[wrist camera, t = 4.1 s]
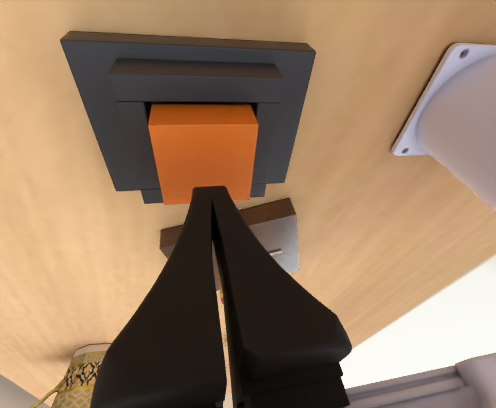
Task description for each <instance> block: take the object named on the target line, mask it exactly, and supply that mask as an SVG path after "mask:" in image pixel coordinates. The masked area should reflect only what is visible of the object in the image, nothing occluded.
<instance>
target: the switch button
mask: <svg viewBox="0 0 496 408" xmlns="http://www.w3.org/2000/svg"><path fill="white" fill-rule="evenodd" d="M148 128H149V133H150V138H151V143H152V148H153V153H154V158H155V163H156V167H157V172H158V177H159V182H160V187H161V192H162V197H163V202H164V205H169V204H185V203H191V198H192V189H193V188H195V187H204V186H223V185H224V186H226V187H227V190H228V192H229V194H230V196H231V198H232V200H248V199H249V197H250V189H251V181H252V173H253V165H254V157H255V149H256V141H257V133H258V122H257V120H256V117H255V115H254V112H253V110H252V107H251V105H206V104H152V106H151V112H150V118H149V123H148Z"/></svg>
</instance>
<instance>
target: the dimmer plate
mask: <svg viewBox="0 0 496 408" xmlns="http://www.w3.org/2000/svg"><path fill="white" fill-rule="evenodd" d="M239 213H240V214H241V216H242V218H243V219H244V221H245V222H246V224H247V225H248V227H249V228H250V230H251V231H252V232H253V234H254V235H255V236H256V238H257V239H258V240H259V242H260V243H261V244H262V245H263V247H264V248H265V249H266V250H267V251H268V253H269V254H270V255H271V256H272V257H273V258H274V259H275V260H276V262H277V263H278V264H279V265H280V266H281V267H282V268H283V269H284V270H285V271H286V272H287V273H289V272H293V271H297V270H299V256H298V238H297V220H296V212H295V210H294V208H293V205H292V203H291V200H290V198H288V199H284V200H280V201H276V202H272V203H268V204H265V205H261V206H257V207H253V208H249V209H245V210H241V211H239ZM182 228H183V225H181V226H177V227H173V228H169V229H165V230H161V236H160V250H161V251H162V252H163V253H164V255H165V256H166V257H167V259H169V257H170V255H171V253H172V251H173V249H174V247H175V244H176V242H177V240H178V237H179V235H180V233H181V230H182ZM212 259H213V268H214V277H215V286H216V291H217V290H220V287H219V278H218V269H217V261H216V256H215V250H214V245H213V240H212Z"/></svg>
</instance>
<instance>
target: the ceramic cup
mask: <svg viewBox="0 0 496 408" xmlns="http://www.w3.org/2000/svg"><path fill="white" fill-rule="evenodd" d="M110 345H111V344H96V345H88V346H86V347H83V348H80V349H78V350H76V352H75V353H74V356H73V358H72V361H71V363H70V365H69V368H68V370H67V372H66V374H65V376H64V379H63V380H61V382H60V383H59V384H58V385H57V386H56V387H55V388H54V389H53V390H51V391H50V392H49V393H48V394H47V395H46V396H45V397H43V398H42V399H41V400H40V401H39V402H37V403H36V404H35V405H33V406H32V407H30V408H36V407H37V406H38V405H40V404H41V403H42V402H44V401H45V400H46V399H47V398H48V397H49V396H50V395H51V394H53V393H54V392H58V393H57V395H56V397H55V400H54V402H53V404H52V407H51V408H90V404H91V399H92V393H93V388H94V384H95V381H96V378H97V374H98V371H99V368H100V366H101V363H102V361H103V358H104V356H105V354H106V351H107V349H108V348H109V346H110Z"/></svg>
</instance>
